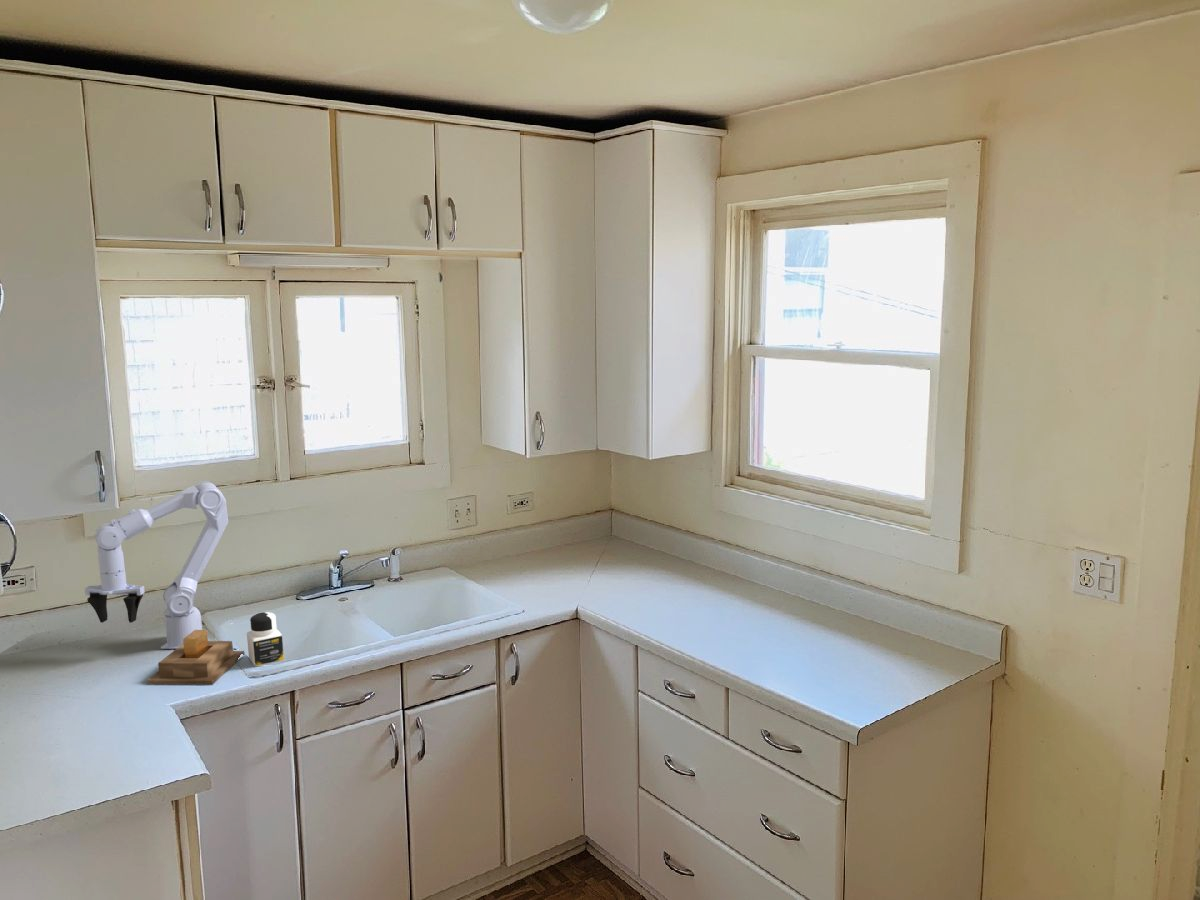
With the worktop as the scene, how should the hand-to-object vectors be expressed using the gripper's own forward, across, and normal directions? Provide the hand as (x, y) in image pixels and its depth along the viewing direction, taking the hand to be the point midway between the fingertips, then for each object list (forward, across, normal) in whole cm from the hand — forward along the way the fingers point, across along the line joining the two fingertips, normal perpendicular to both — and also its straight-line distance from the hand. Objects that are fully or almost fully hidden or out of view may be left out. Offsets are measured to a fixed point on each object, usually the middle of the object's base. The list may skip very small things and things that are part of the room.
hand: (118, 621), depth 235 cm
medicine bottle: (+10, +39, -2) cm, 40 cm away
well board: (+9, +24, -8) cm, 27 cm away
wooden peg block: (+8, +24, -8) cm, 27 cm away
